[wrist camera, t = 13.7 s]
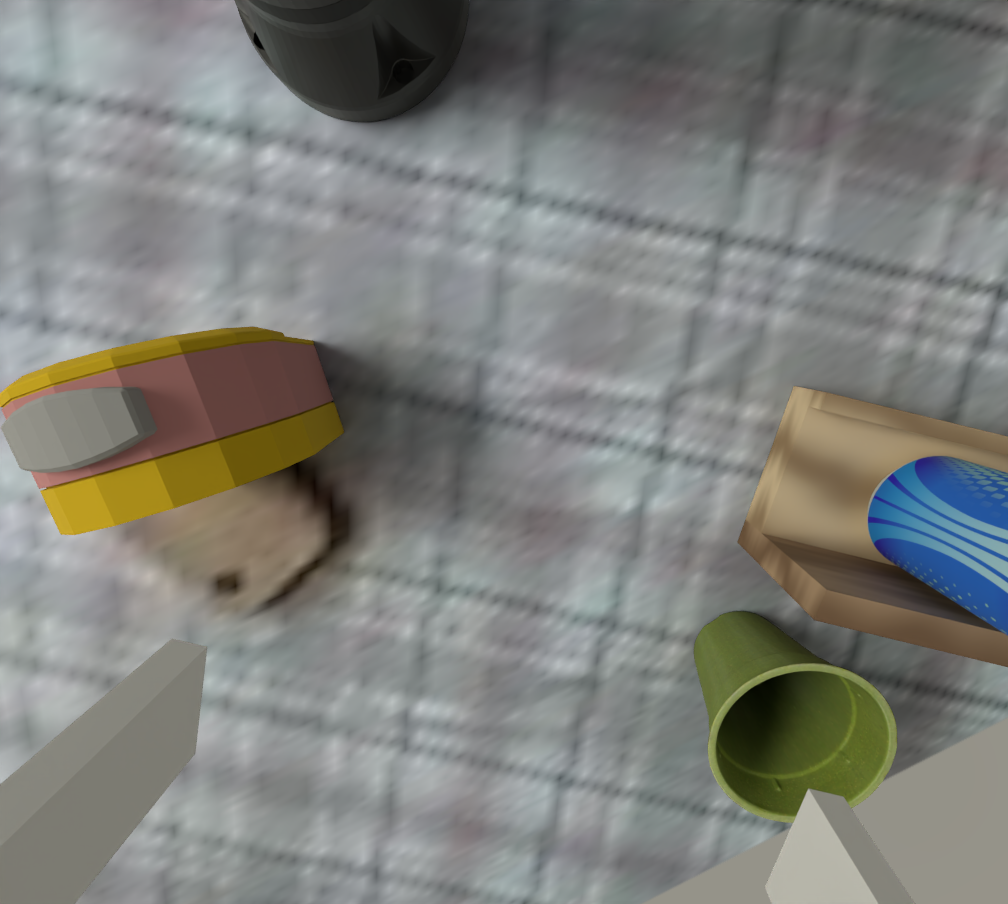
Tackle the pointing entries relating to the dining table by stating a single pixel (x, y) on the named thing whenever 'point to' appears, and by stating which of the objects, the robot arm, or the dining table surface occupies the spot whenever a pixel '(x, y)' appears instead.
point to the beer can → (947, 530)
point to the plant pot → (787, 719)
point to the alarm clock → (167, 422)
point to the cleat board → (859, 520)
